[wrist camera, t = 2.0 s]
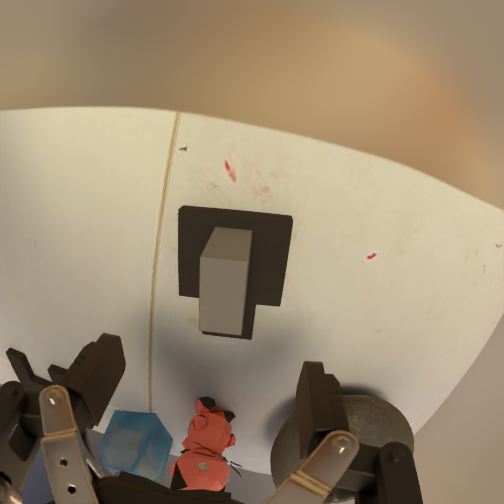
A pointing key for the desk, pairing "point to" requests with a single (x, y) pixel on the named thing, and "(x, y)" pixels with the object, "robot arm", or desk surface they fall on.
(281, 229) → the tab pad
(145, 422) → the perfume bottle
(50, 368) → the notch pad
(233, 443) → the cat figurine
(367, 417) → the bowl
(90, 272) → the desk surface
